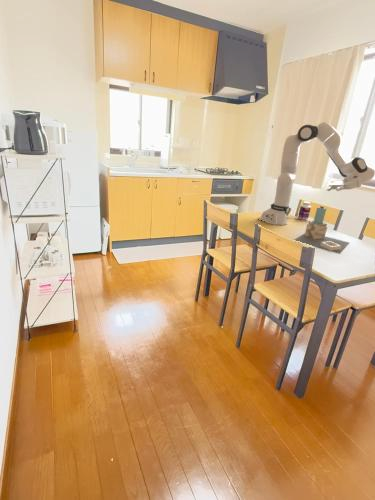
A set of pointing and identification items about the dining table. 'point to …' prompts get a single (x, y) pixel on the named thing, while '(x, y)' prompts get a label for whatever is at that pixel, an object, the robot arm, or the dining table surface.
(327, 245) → the lower socket
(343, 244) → the mat
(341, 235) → the dining table surface
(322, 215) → the plug block
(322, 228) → the brown mottled container
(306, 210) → the pill bottle
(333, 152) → the robot arm
